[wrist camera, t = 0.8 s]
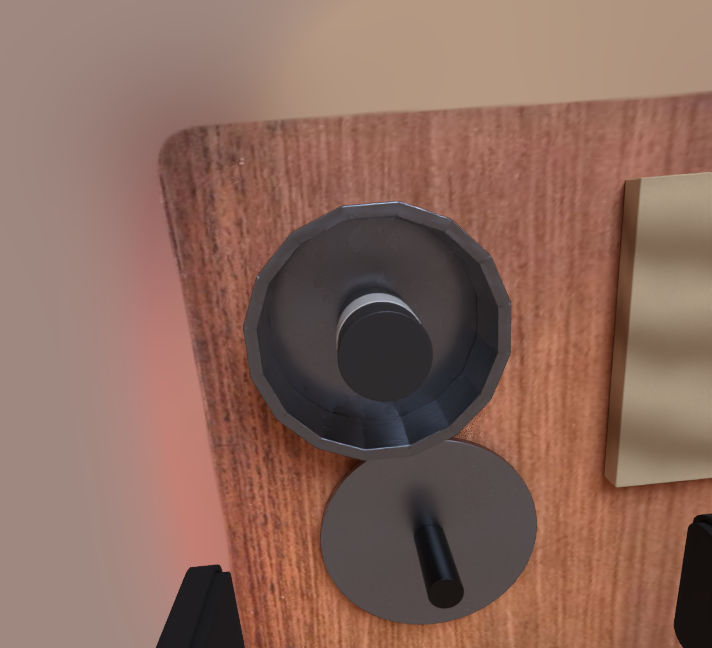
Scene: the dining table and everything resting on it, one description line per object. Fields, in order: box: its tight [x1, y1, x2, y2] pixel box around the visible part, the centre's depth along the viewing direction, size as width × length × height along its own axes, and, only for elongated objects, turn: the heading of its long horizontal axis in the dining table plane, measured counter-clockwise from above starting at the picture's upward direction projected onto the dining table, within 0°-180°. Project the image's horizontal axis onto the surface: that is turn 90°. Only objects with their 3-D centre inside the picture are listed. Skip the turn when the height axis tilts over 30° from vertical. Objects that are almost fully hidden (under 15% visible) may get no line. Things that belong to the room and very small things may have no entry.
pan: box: [243, 201, 511, 461], centre depth 27 cm, size 16×16×4 cm
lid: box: [321, 437, 537, 625], centre depth 31 cm, size 17×17×6 cm
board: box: [604, 172, 712, 487], centre depth 30 cm, size 22×10×2 cm, turn 5°
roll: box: [336, 288, 433, 401], centre depth 26 cm, size 5×5×7 cm
